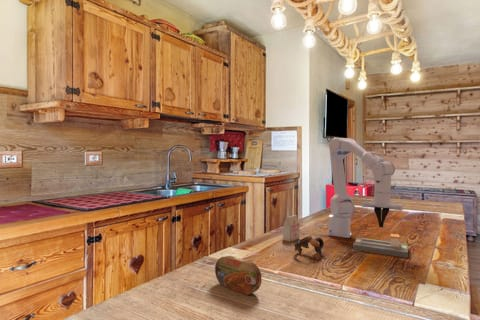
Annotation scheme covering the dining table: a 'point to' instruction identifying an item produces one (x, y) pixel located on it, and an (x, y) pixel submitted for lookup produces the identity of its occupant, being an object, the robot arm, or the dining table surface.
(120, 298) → the dining table surface
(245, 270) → the tin
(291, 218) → the grey upright block
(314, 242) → the brown animal figurine
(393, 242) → the block
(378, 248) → the panel
